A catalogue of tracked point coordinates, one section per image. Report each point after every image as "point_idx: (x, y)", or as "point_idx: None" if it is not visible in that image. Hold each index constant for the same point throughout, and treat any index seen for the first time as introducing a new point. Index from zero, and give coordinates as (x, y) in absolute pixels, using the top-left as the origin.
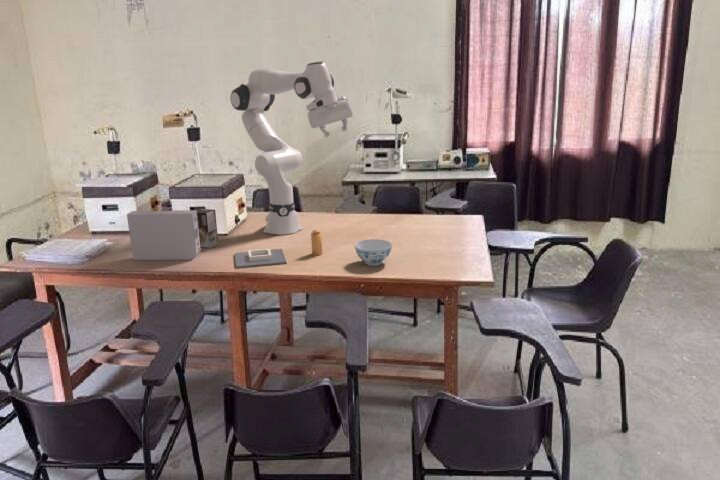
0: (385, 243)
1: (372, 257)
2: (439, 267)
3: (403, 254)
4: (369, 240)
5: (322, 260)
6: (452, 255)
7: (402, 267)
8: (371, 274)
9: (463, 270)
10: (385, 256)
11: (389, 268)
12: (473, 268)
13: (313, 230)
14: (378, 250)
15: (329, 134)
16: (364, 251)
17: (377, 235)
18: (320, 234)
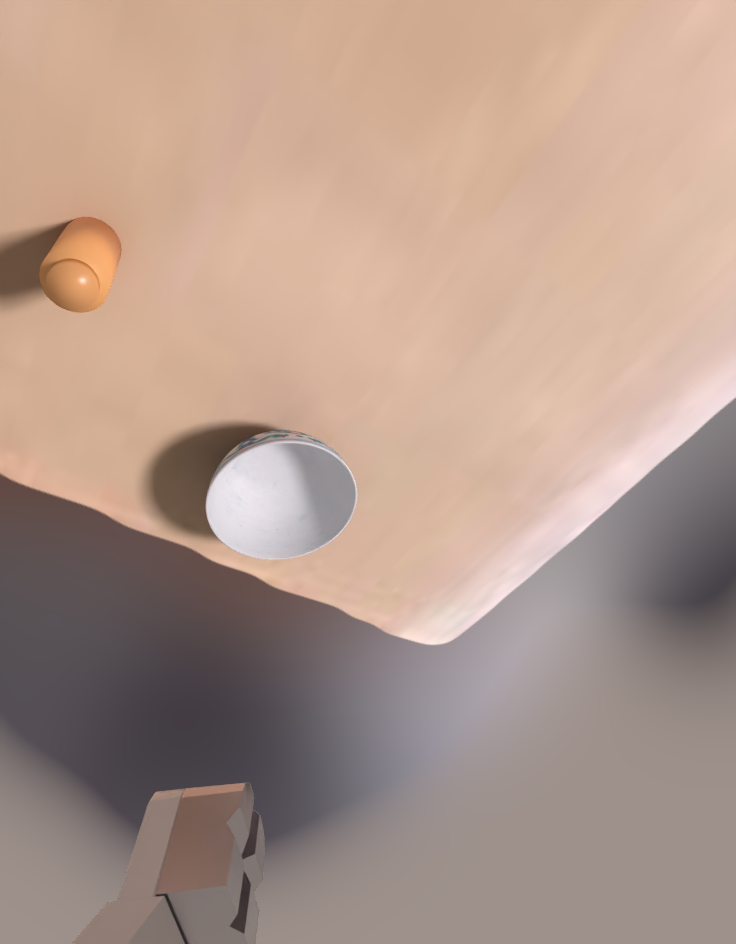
0: (349, 477)
1: (246, 530)
2: (420, 562)
3: (417, 431)
4: (305, 443)
5: (91, 348)
6: (525, 500)
7: None
8: (213, 543)
9: (450, 596)
10: (297, 527)
11: None
12: (480, 593)
13: (55, 270)
14: (266, 558)
15: (261, 867)
16: (221, 536)
17: (518, 126)
18: (95, 308)
